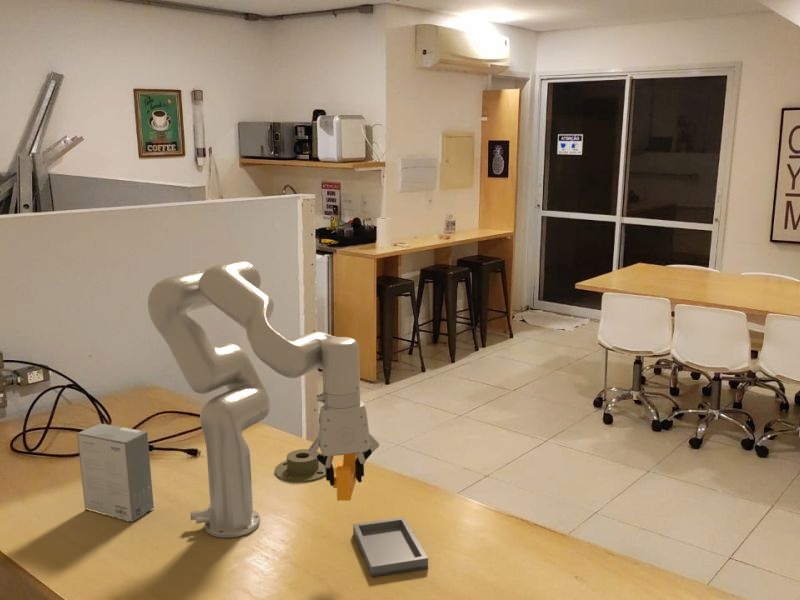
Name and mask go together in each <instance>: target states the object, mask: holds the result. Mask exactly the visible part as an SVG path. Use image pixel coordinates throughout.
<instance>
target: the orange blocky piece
mask: <svg viewBox="0 0 800 600" xmlns="http://www.w3.org/2000/svg"><path fill="white" fill-rule="evenodd" d="M356 459H357V455H356V453H355V454H347V455H343V460H336V463H335V466H334V486H332V488H333V489H336V500H337V502H338V501H342V502H343V501H345V502H346V501H347V502H348V501H350V502H351V500H352V495H353V492H354V489H355V485H356V482H357V479H356V472H355V460H356Z"/></svg>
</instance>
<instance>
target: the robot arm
mask: <svg viewBox="0 0 800 600" xmlns="http://www.w3.org/2000/svg"><path fill="white" fill-rule="evenodd" d="M261 282H262V281H261V275H260V273H259V270H258V269H257V267H255V266H254V265H253V264H251V263H250V262H248V261H245V260H236V261H235V260H234V261H230V262H226V263H221V264H216V265H213V266H211V267H209V268H206V269H201V270H196V271H191V272H185V273H181V274H176V275H172V276H169V277H165V278H163V279H162V280H160V281H158V282H156V283H155V284H154V285H153V287H152V288H151V289H150V291H149V294H148V298H147V310H148V314H149V317H150V319H151V322H152V324H153V326H154V327H155V329H156V330H157V332H158V333H159V334H160V336H161V337H162V338H163V341H165V343H166V345H167V346H168V348H169V349H170V352H171V353H172V354H171V355H172V356H173V357H174V360H175V362H176V364H177V365H178V367H179V369H180V372H181V373H182V376H183V377H184V379H185V381H186V383H187V384H188V386H189V387H190V389H191V390H192V391H193V392H194V393H196V394H199V395H203V394H209V393H212V392H214V391H216V390H217V391H218V390H220V389H221V388H222V389H223V388H224V387H226V388H227V389H228V391H227V390H226V391H225V392H223V393H220V394H218V395H216V396H214V397H213V398H211V399H210V400H208V401H206V403H205V404H204V405H203V407H202V408H201V410H200V413H199V422H200V427H201V429H202V432H203V433H202V434H203V437H204V443H205V447H206V450H205V451H206V458H207V462H206V463H207V475H208V491H209V504H208V508H204V510H195V511H194V510H193V511H190V514H189V515H190V521H195V523H196V524H202V523H203V524H204V530H205V531H206V533H207V534H209V535H210V536H213V537H217V538H221V539H222V538H223V539H225V538H226V539H227V538H229V539H230V538H238V537H241V536H245V535H248V534H250V533H252V532H254V531H255V530H256V529H257V528H258V527H259V526H260V524H261V516H260V514H259V512H257V511H256V510H254V509H253V508H254V507H253V503H254V502H253V487H252V486H253V484H252V465H251V451H250V447H249V444H248V443H247V441H246V440H245V438H244V436H243V432H244V431H245V430H247V429H249V428H251V427H253V426H254V425H256V424H258V423H260V422H261V421H263V420H265V418H266V417H267V416H268V415H269V414H270V410H271V401H270V396H269V393H268V391H267V389H266V387H265V385H264V382H263V381H262V379H261V378H260V376H259V374H258V372H257V370H256V368H255V367H254V364H253V362H252V360H251V358H250V357H249V355H248V354H247V352H246V351H245V350H244V349H243V348H241V346H239V345H237V344H236V343H232V342H227V343H226V342H225V343H219V344H217V345H215V346H214V345H213V344H212V343H211V341H210V339H209V338H208V335H207V333H206V332H205V330H204V329H203V327H202V325H200V324H199V323H198V322H197V321H196V320H194V319H193V318H191V317H190V316H188V312H192V311H195V310H198V309H202V308H206V307H210V306H215V307H216V308H217V309H218V310H220V312H223V314H225V315H226V316H228V317H229V318H230V319H231V320H233V321H234V322H235V323H236V324H238V325H239V326H240V327H242V328H243V329H244V330H245V331H246V337H247V341H248V343H249V345H250V348H251V349H252V351H253V353H254V354H255V356H256V357H257V358H258V359H259V360H260V361H261V362H263V364H265V365H267V366H268V367H269V368H270V369H271V370H273V371H274V372H275V373H277V374H279V375H281V376H282V377H284V378H288V379H296V378H297V379H298V378H300V377H303V376H305V375H306V374H308V373H311V372H313V371H315V370H318V369H321V370H322V372H321V373H322V392H321V393H320V394H316V396H315V397H316V398H315V399H316V402H317V403H318V402H320V403H321V405H320V410H319V414H318V430H317V431H318V432H317V434H318V436H317V437H316V439H315V440H314V441H313V443H312V444H311V446H310V447H308V453H309V455H311V456H312V457H314V458H316V459H317V460H318V461H319V462H321V463H322V464H323V465H324V466H325V468H326V476H325V479H326V482H328V481H329V485H330V486H331V487H333V486H334V469H335V467H334V465H333V460H334V457H336V456H344V455H347V454H355V453H356V455H357V459H356V460H355V472H356V482H358V483H362V481H363V480H362V478H363V477H364V476H365V464H366V461H367V459H369V457H370V456H371V455H372V454H373V453H374V452H375V451H376V450H377V449H378V448H379V447H380V443H379V442H378V440H377V439H376V438H374V436H373V435H372V434H371V433H370V429H369V422H368V421H369V420H368V414H367V413H368V412H367V409H366V405H365V402H364V401H362V400H361V373H360V372H361V371H360V369H361V368H360V367H361V366H360V346H359V343H358V341H357V340H356V339H355V338H351V337H348V336H334V335H331V334H329V333H326V332H322V331H311V332H308V333H305V334H303V335H300V336H298V337H295V338H292V339H290V340H288V339H287V338H286V337H284V336H283V335H281V334H280V333H279V332H277V331H276V330H275V329H274V328H273V327H272V326H271V324H270V323H269V320H270V319H271V317H272V315H273V312H274V308H275V304H274V301H273V299H272V298H271V297H270V296H269V295H267V294H266V293H265V292H264V291H262V290H260V288H261ZM318 450H320V452H319V451H318Z"/></svg>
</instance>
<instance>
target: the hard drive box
mask: <svg viewBox="0 0 800 600" xmlns="http://www.w3.org/2000/svg"><path fill="white" fill-rule="evenodd" d="M76 437H77V445H78V446H77V448H78V455H79V464H80V473H81V474H80V475H81V483H82V492H83V493H82V495H83V500H84V504H83V505H84V509H85V508H88V509H91V510H95V511H98V512H101V513H105V514H108V515H111V516H114V517H117V518H121V519H124V520H123V521H125V520H128V521H127V522H129V521H131V522H130V523H132V522H135V521H137V520H138V519H139V518H138V517H140V516H141V517H143V516H145V515H146V514H147V513H146V512H148V511H150V510H151V509H152V508H154V509H155V507H154V495H153V494H154V493H153V483H152V482H153V481H152V473H151V472H152V469H151V460H150V449H149V435H148V431H145V430H139V429H134V428H130V427H122V426H116V425H112V424H105V423H98V424H96V425H93V426H91V427H87V428H86V429H84V430H81V431H79V432H77V434H76ZM151 511H152V510H151ZM151 511H150V512H151ZM145 513H146V514H145ZM148 513H149V512H148ZM144 514H145V515H144ZM142 515H143V516H142ZM114 517H113V518H114ZM141 517H140V518H141ZM117 518H116V519H117ZM137 518H138V519H137ZM134 520H135V521H134Z"/></svg>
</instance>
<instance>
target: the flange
mask: <svg viewBox="0 0 800 600" xmlns="http://www.w3.org/2000/svg"><path fill="white" fill-rule="evenodd" d="M308 449H309V448H308ZM308 449H307V448H305V449H304V448H303V449H302V448H301V449H296V450H292V451H290V452H289V453H287V455H286V459H285V460H284V461H281V462H280V463H279V464H277V465H276V466H275V467H274V474H275V476H276V477H277V478H278V479H280V480H281V481H284V482H289V483H295V482H303V483H311V482H315V480H316V481H318V480H321V479H323V477H324V478H326V468H325V466H324V465H323V464H322V463H321V462H319V461H318V460H317V459H316V458H314V457H312V456H311V455H309V453H308ZM286 464H287V465H286ZM322 473H323V474H322Z"/></svg>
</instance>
